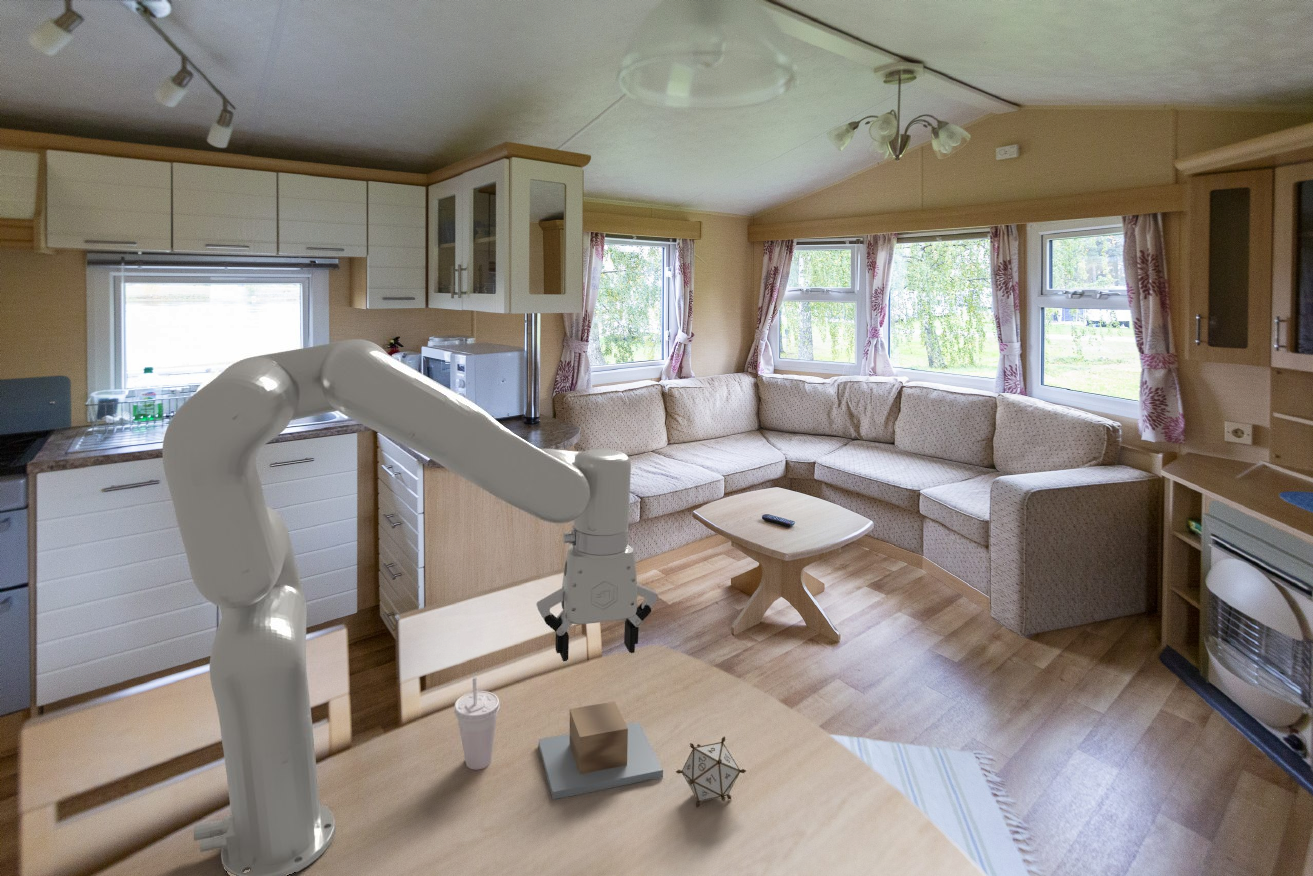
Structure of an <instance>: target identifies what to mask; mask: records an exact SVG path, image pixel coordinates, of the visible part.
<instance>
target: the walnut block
mask: <svg viewBox="0 0 1313 876" xmlns="http://www.w3.org/2000/svg"><path fill="white" fill-rule="evenodd" d="M626 724H627V723H626V722H625V720H624V718H623V716H622V713H621V711H620V708H619V707H618V705H617V702H616V701H615V700H614V701H610V702H609V701H608V702H603V703H598V704H596V703H595V704H591V705H585V706H580V707H573V708H569V734H570V747H571V750H572V753H573V756H574V759H575V762H576V765H577V768H578V770H579V773H580V774H585V773H590V772H595V771H600V770H605V769H610V768H615V767H620V766H625V765H627V746H628V728H627V726H626Z"/></svg>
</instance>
